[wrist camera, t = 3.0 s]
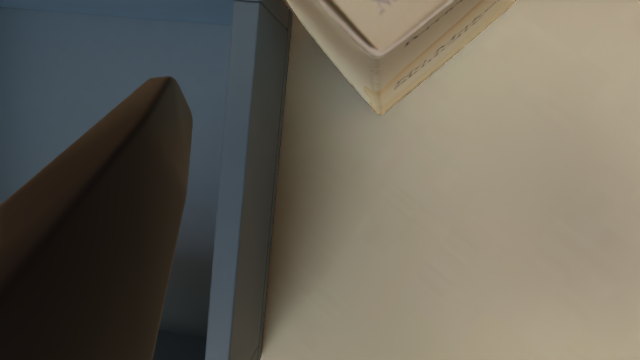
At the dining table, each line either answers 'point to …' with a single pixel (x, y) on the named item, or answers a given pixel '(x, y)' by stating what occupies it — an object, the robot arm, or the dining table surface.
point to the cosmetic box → (393, 39)
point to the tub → (206, 145)
